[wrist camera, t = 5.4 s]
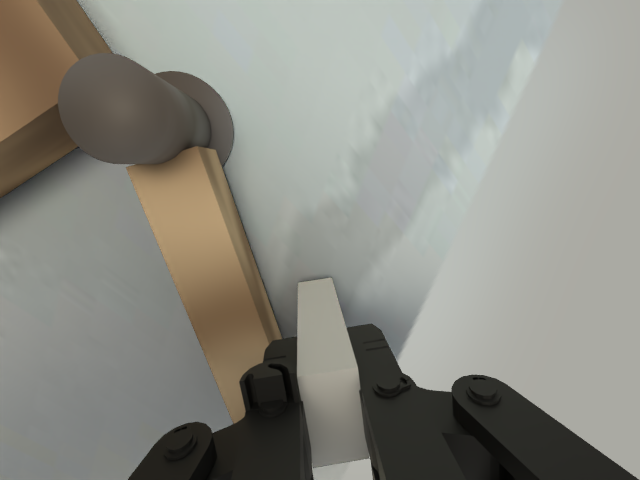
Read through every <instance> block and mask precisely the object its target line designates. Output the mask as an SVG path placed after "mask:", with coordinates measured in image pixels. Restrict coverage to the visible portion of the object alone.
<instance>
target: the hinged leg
mask: <svg viewBox="0 0 640 480" xmlns="http://www.w3.org/2000/svg"><path fill="white" fill-rule="evenodd" d="M58 108H59V113H60V117H61V120H62V123H63V126H64V127H65V129H66V131H67V133H68V134H69V136H70V137H71V139H72V140H73V141H74V142H75V143H76V145H78V146H79V147H80V148H81V149H82V150H83V151H85V152H86V153H87V154H89V155H91V156H92V157H94V158H96V159H99V160H101V161H104V162H108V163H113V164H136V165H132V166H129V167H126V169H127V171H128V174H129V176H130V178H131V181H132V183H133V186H134V188H135V190H136V193H137V195H138V197H139V200H140V202H141V205H142V207H143V209H144V212H145V214H146V216H147V219H148V221H149V224H150V226H151V228H152V231H153V233H154V236H155V238H156V240H157V243H158V245H159V247H160V250H161V252H162V255H163V257H164V259H165V262H166V264H167V266H168V269H169V271H170V274H171V276H172V278H173V281H174V283H175V285H176V288H177V290H178V293H179V295H180V297H181V300H182V302H183V305H184V307H185V309H186V312H187V314H188V316H189V319H190V321H191V324H192V326H193V328H194V331H195V333H196V335H197V338H198V340H199V343H200V345H201V347H202V350H203V352H204V355H205V357H206V359H207V362H208V364H209V366H210V369H211V371H212V374H213V376H214V378H215V381H216V383H217V385H218V388H219V390H220V393H221V395H222V397H223V400H224V402H225V405H226V407H227V409H228V412H229V414H230V416H231V419H232V421H233V424H235V423H237V422H238V421H239V420H241V419H242V418H244V416H245V412H246V411H245V406H244V402H243V397H242V393H241V388H240V384H239V381H240V379H241V377H242V375H243V374H244V373H245V372H246V371H248V370H249V369H250V368H252V367H254V366H256V365H258V364H260V363H263V358H264V352H265V349H266V348H267V347H268V345H269V344H270V343H271V342H272V341H273V340H279V339H282V337H281V334H280V331H279V328H278V325H277V322H276V320H275V317H274V314H273V311H272V308H271V305H270V303H269V300H268V297H267V294H266V291H265V288H264V286H263V283H262V280H261V277H260V274H259V271H258V269H257V266H256V263H255V260H254V257H253V254H252V251H251V249H250V246H249V243H248V240H247V237H246V234H245V232H244V229H243V226H242V223H241V220H240V217H239V215H238V212H237V209H236V206H235V203H234V200H233V198H232V195H231V192H230V189H229V186H228V183H227V180H226V178H225V175H224V172H223V169H222V166H221V163H220V161H219V158H218V155H217V152H216V150H214V149H209V148H207V147H208V145H209V142H210V138H211V126H210V121H209V118H208V116H207V114H206V112H205V110H204V109H203V108H202V106H201V105H200V104H199V103H198V102H197V101H196V100H194V99H193V98H191V97H190V96H188V95H187V94H185V93H184V92H182V91H180V90H179V89H177V88H176V87H174V86H172V85H171V84H169V83H168V82H166V81H165V80H163V79H161V78H160V77H158V76H157V75H155V74H153V73H152V72H150V71H149V70H147V69H146V68H144V67H142V66H141V65H139V64H138V63H136V62H134V61H133V60H131V59H129V58H127V57H124V56H121V55H117V54H112V53H97V54H93V55H89V56H87V57H84V58H82V59H80V60H79V61H77V62H76V63H75V64H73V65H72V66H71V67H70V69H69V70H68V71H67V72H66V74H65V75H64V77H63V79H62V82H61V85H60V88H59V93H58Z"/></svg>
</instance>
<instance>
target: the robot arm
mask: <svg viewBox="0 0 640 480" xmlns="http://www.w3.org/2000/svg"><path fill="white" fill-rule="evenodd" d="M239 384H240V388H241V393H242V397H243V402H244V406H245V411H246V412H245V416H244V418H242V419H241V420H239V421H238V422H237V423H235V424H233V425H231V426H229V427H226V428H224V429H222V430H219V431H217V432H214V433H212V431H211V428H209V427H208V426H207V425H206V424H204V423H200V422H193V423H186V424H184V425H181V426H179V427H176V428H174V429H173V430H171V431H170V432H168V433H167V434H165V435H164V436H163V437H162V438H161V439H160V440H159V441H158V442H157V443H156V444H155V445H154V446H153V447H152V449H151V450H150V451H149V453H148V454H147V455H146V457H145V458H144V459H143V460H142V462H141V463H140V464H139V466H138V467H137V468H136V469H135V471H134V472H133V473H132V475H131V476H130V477H129V479H128V480H314V479H313V474H312V465H313V468H315V467H321V466H327V465H333V464H339V463H344V462H350V461H356V460H361V459H368V458H369V456H370V460H371V467H372V475H373V480H639V479H637V478H636V477H634V476H633V475H632V474H630V473H629V472H627V471H626V470H625V469H623V468H622V467H621V466H619V465H618V464H616V463H615V462H614V461H612V460H611V459H609V458H608V457H607V456H605V455H604V454H602V453H601V452H600V451H598V450H597V449H595V448H594V447H593V446H591V445H590V444H588V443H587V442H586V441H584V440H583V439H582V438H580V437H579V436H577V435H576V434H575V433H573V432H572V431H570V430H569V429H568V428H566V427H565V426H564V425H562V424H561V423H559V422H558V421H557V420H555V419H554V418H552V417H551V416H550V415H548V414H547V413H545V412H544V411H543V410H541V409H540V408H538V407H537V406H536V405H534V404H533V403H531V402H530V401H529V400H527V399H526V398H524V397H523V396H522V395H520V394H519V393H518V392H516V391H515V390H513V389H512V388H511V387H509V386H508V385H506V384H505V383H503V382H501V381H499V380H497V379H495V378H491V377H488V376H484V375H469V376H463V377H461V378H459V379H458V380H456V381H455V382H454V384H453V386H452V392H444V391H433V390H426V389H423V388H419V387H417V386H416V384H415V382H414V381H413V380H412V379H411V378H410V377H409V376H407V375H405V374H403V373H402V371H401V369H400V368H399V365H398V363H397V361H396V359H395V357H394V355H393V353H392V351H391V349H390V347H389V345H388V343H387V341H386V340H385V337H384V335H383V333H382V331H381V330H380V329H379V328H377V327H376V326H374V325H373V324H367V325H361V326H354V327H348V328H346V325H345V322H344V318H343V315H342V311H341V308H340V304H339V301H338V298H337V294H336V291H335V287H334V284H333V280H332V278H325V279H319V280H312V281H306V282H299V283H298V321H297V337H292V338H285V339H279V340H273V341H272V342H271V343H270V344H269V345H268V347H267V348H266V349H265V352H264V358H263V363H260V364H258V365H256V366H254V367H252V368H250V369H249V370H248V371H246V372H245V373H244V374H243V375H242V377H241V379H240V381H239Z"/></svg>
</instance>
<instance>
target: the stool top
mask: <svg viewBox="0 0 640 480" xmlns="http://www.w3.org/2000/svg"><path fill="white" fill-rule="evenodd" d="M97 53H112V52H111V50H110V49H109V47H108V46H107V44H106V43H105V41H104V40H103V38H102V37H101V36H100V34H99V33H98V31H97V30H96V28H95V27H94V25H93V24H92V22H91V21H90V20H89V18H88V17H87V15H86V14H85V12H84V11H83V9H82V8H81V6H80V5H79V4H78V2H77V1H76V0H0V198H1V197H3V196H4V195H6V194H7V193H9V192H10V191H12V190H13V189H15V188H16V187H18V186H19V185H21V184H22V183H24V182H25V181H27V180H28V179H30V178H31V177H33V176H35V175H36V174H38V173H39V172H41V171H42V170H44V169H45V168H47V167H48V166H50V165H51V164H53V163H54V162H56V161H57V160H59V159H60V158H62V157H63V156H65V155H66V154H68V153H69V152H71V151H72V150H74V149H75V148H77V147H78V145H76V143H75V142H74V141H73V140H72V139H71V137H70V136H69V134H68V133H67V131H66V129H65V127H64V126H63V123H62V120H61V117H60V113H59V108H58V93H59V88H60V85H61V82H62V79H63V77H64V75H65V74H66V72H67V71H68V70H69V69H70V67H71V66H72V65H73V64H75V63H76V62H77V61H79V60H80V59H82V58H84V57H87V56H89V55H93V54H97ZM112 54H113V53H112ZM155 75H157V76H158V77H160V78H161V79H163V80H165V81H166V82H168V83H169V84H171V85H172V86H174V87H176V88H177V89H179V90H180V91H182V92H184V93H185V94H187V95H188V96H190V97H191V98H193V99H194V100H196V101H197V102H198V103H199V104H200V105H201V106H202V108H203V109H204V110H205V112H206V114H207V116H208V118H209V121H210V126H211V138H210V142H209V145H208V147H207V148H209V149H214V150H216V152H217V155H218V158H219V161H220V163H221V166H223V165H224V163H225V162H226V160H227V158H228V156H229V154H230V151H231V148H232V144H233V124H232V119H231V115H230V113H229V110H228V108H227V106H226V104H225V103H224V101H223V100H222V98H221V97H220V95H219V94H218V93H217V92H216V91H215V90H214V89H213V88H212V87H210V86H209V85H208V84H207V83H205V82H204V81H202V80H201V79H199V78H197V77H195V76H193V75H190V74H187V73H183V72H175V71H168V72H161V73H157V74H155Z"/></svg>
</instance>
